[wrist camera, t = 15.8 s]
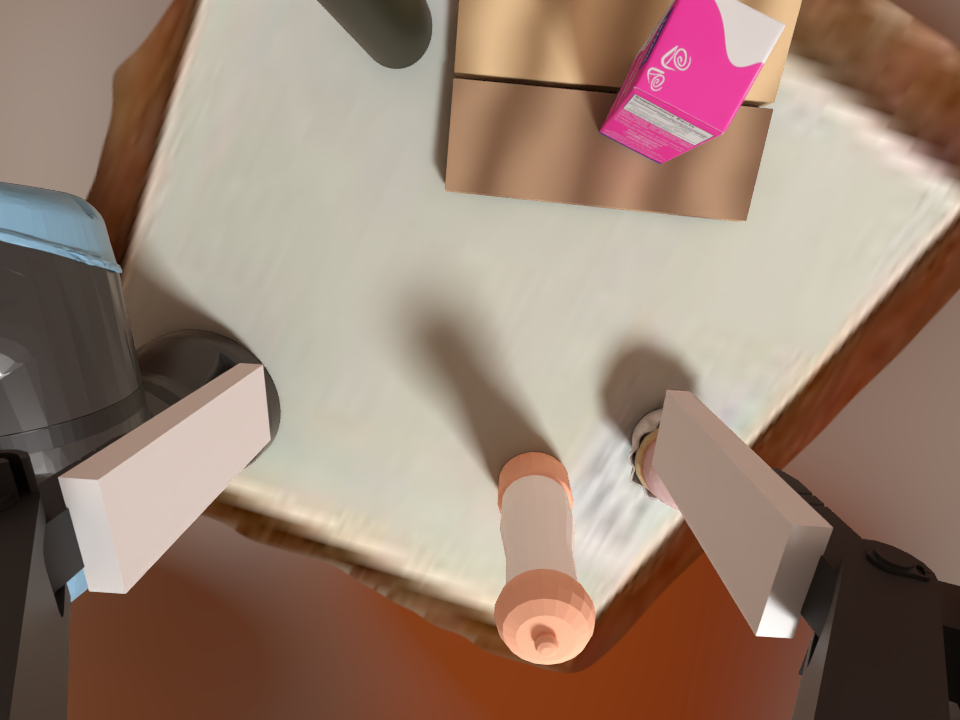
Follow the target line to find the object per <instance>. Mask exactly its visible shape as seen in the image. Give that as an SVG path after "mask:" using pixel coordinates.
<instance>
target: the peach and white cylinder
mask: <svg viewBox="0 0 960 720" xmlns="http://www.w3.org/2000/svg"><path fill="white" fill-rule="evenodd" d="M572 505H573V497H572V492H571V488H570V483H569V479H568V474H567V471H566V470H565V468H564V467H563V465H562V464H561V463H560V462H559V461H558V460H557V459H555V458H554V457H552V456H550V455H547V454H544V453H539V452H528V453H523V454H519V455H517V456H516V457H514V458H512V459H510V460H509V461H508V462H507V463H506V464H505V465H504V466H503V468H502V471H501V473H500V475H499V486H498V506H499V510H500V513H501V523H500V531H501V536H502V541H503V546H504V551H505V556H506V585H505V586H504V588H503V590H502V591H501V593H500V595H499V597H498V599H497V601H496V604H495V612H494V618H495V622H496V626H497V629H498V632H499V635H500V637H501V638H502V640H503V641H504V642H505V643H506V645H507V646H508V647H509V648H510V650H511V651H512V652H513V653H514V654H516V655H517V656H519V657H520V658H522V659H524V660H527V661H530V662H533V663H537V664H547V665H549V664H557V663H562V662H565V661H567V660H570V659H572V658H574V657H575V656H576V655H578V654H579V653H580V652H582V650H583V649H584V647H585V646H586V644H587V643H588V641H589V639H590V638H591V636H592V635H593V630H594V624H595V615H596V614H595V609H594V605H593V602H592V600H591V598H590V597H589V595H588V594H587V593H586V591H585V590H584V588H583V587H582V585H581V584H580V583H579V582H578V579H577V573H576V567H575V561H574V534H575V524H574V520H573V516H572V512H571V511H572Z"/></svg>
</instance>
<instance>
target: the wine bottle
mask: <svg viewBox="0 0 960 720" xmlns="http://www.w3.org/2000/svg"><path fill="white" fill-rule="evenodd" d="M317 1H318V2H319V3H320V4H321V5H322V6H323V7H324V8H325V9H326V10H327V11H328V12H329V13H330V14H331V15H332V16H333V17H334V19H335V20H336V21H337V22H338V23H339V24H340V25H341V26H342V27H343V28H344V29H345V30H346V31H347V32H348V33H349V34H350V35H351V36H352V37H353V38H354V39H355V41H356V42H357V43H358V44H359V45H360V46H361V47H362V48H363V49H364V50H365V51H366V52H367V53H368V54H369V55H370V56H371V57H372V58H373V59H374V60H375V61H376V62H378V63H379V64H381V65H383V66H385V67H388V68H393V69H400V68H405V67H408V66H411V65H412V64H414V63H416V62H417V61H418V60H419V59H420V58H421V57H422V56H423V55H424V53H425V52H426V50H427V48H428V46H429V43H430V40H431V35H432V18H431V13H430V10H429V7H428V5H427V2H426V0H317Z"/></svg>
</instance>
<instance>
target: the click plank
mask: <svg viewBox="0 0 960 720" xmlns="http://www.w3.org/2000/svg"><path fill="white" fill-rule="evenodd" d="M617 95H618V94H612V93H602V92H592V91H581V90H571V89H560V88H550V87H540V86H529V85H519V84H508V83H498V82H488V81H477V80H467V79H457V78H453V91H452V104H451V117H450V130H449V143H448V155H447V168H446V181H445V190H446V191H448V192H458V193H467V194H477V195H487V196H496V197H506V198H516V199H525V200H535V201H545V202H554V203H564V204H574V205H583V206H593V207H603V208H612V209H622V210H632V211H641V212H651V213H661V214H670V215H680V216H690V217H699V218H709V219H719V220H728V221H746V219H747V215H748V211H749V207H750V203H751V199H752V195H753V191H754V186H755V182H756V178H757V174H758V170H759V166H760V162H761V158H762V153H763V149H764V145H765V141H766V137H767V133H768V129H769V124H770V120H771V116H772V112H773V109H768V108H758V107H747V106H740V108H739V110H738V111H737V113H736V115H735V117H734V118H733V120H732V122H731V123H730V125H729V127H728V128H727V130H726V131H725V132H724V133H723V134H722V135H720V136H718V137H716V138H714V139H711V140H709V141H707V142H705V143H703V144H701V145H699V146H697V147H695V148H693V149H691V150H689V151H687V152H685V153H683V154H681V155H679V156H677V157H675V158H673V159H671V160H669V161H667V162H665V163H663V164H659V163H657V162H655V161H653V160H651V159H649V158H647V157H645V156H643V155H641V154H639V153H637V152H635V151H633V150H631V149H629V148H628V147H626V146H624V145H622V144H620V143H618V142H616V141H614V140H612V139H610V138H608V137H607V136H604V135H603V134H601V133H599V130H600V128H601V126H602V124H603V122H604V120H605V119H606V117H607V115H608V113H609V111H610V109H611V107H612V105H613V103H614V101H615V99H616V97H617Z"/></svg>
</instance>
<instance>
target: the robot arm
mask: <svg viewBox="0 0 960 720" xmlns="http://www.w3.org/2000/svg"><path fill="white" fill-rule="evenodd" d="M120 273H122V269H121V267H120V265H118V264H117V263H116V260H115V256H114V253H113V250H112V247H111V243H110V239H109V236H108V232H107V229H106V225H105V222H104V220H103V218H102V216H101V215H100V213H99V212H98V211H97V210H96V209H95V208H94V207H93V206H92V205H91V204H90V203H88V202H87V201H85V200H83V199H82V198H79V197H77V196H74V195H72V194H68V193H64V192H60V191H55V190H49V189H43V188H37V187H31V186H25V185H18V184H12V183H5V182H0V720H67V703H68V700H67V699H68V670H69V668H68V667H69V638H70V604H71V602H72V601H73V600H74V599H75V598H77V597H78V596H79V595H80V594H82V593H83V592H84V591H85V590H86V589H88V588H89V591H93V592H107V593H123V594H126V593H127V592H128V591H129V589H130V588H131V587H132V586H133V585H134V584H135V583H136V582H137V581H138V580H139V579H140V578H141V577H142V576H143V575H144V574H145V573H146V571H147V570H148V569H149V568H150V567H151V566H152V565H153V564H154V563H155V562H156V561H157V560H158V559H159V558H160V557H161V556H162V555H163V553H164V552H165V551H166V550H167V549H168V548H169V547H170V546H171V545H172V544H173V543H174V542H175V541H176V540H177V539H178V537H180V536H181V534H182V533H183V532H184V531H185V530H186V529H187V528H188V527H189V526H190V525H191V524H192V523H193V522H194V520H196V519H197V517H198V516H199V515H200V514H201V513H202V512H203V511H204V510H205V509H206V508H207V507H208V506H209V505H210V504H211V503H212V502H213V501H214V499H215V498H216V497H217V496H218V495H219V494H220V493H221V492H222V491H223V490H224V489H225V488H226V487H227V486H228V485H229V484H230V482H231V481H232V480H233V479H234V478H235V477H236V476H237V475H238V474H239V473H240V472H241V471H242V470H243V469H244V468H246V467H248V466H249V465H250V464H252V463H253V462H254V461H255V460H256V459H257V458H258V457H259V456H260V455H261V454H262V453H263V452H264V451H265V450H266V449H267V448H268V447H269V446H270V445H271V443H272V442H273V440H274V438H275V436H276V434H277V431H278V428H279V423H280V403H279V398H278V394H277V391H276V388H275V386H274V383H273V381H272V379H271V378H270V376H269V374H268V373H267V371H266V370H265V368H264V367H263V364H261V363H260V362H259V361H258V360H257V359H256V358H255V357H254V356H253V355H252V354H251V353H250V352H249V351H247V350H246V349H245V348H243V347H242V346H241V345H239V344H237V343H236V342H234V341H232V340H230V339H228V338H226V337H224V336H221V335H219V334H215V333H212V332H208V331H202V330H182V331H177V332H173V333H170V334H167V335H164V336H162V337H159V338H156V339H154V340H152V341H150V342H148V343H146V344H144V345H143V346H141V347H140V348H138V349H137V350H135V346H134V341H133V337H132V332H131V327H130V322H129V317H128V312H127V307H126V303H125V298H124V293H123V288H122V283H121V278H120ZM652 466H653V467H654V469H655V470H656V472H657V474H658V475H659V477H660V479H661V480H662V482H663V484H664V485H665V487H666V489H667V490H668V492H669V494H670V495H671V497H672V499H673V500H674V502H675V503H676V505H677V507H678V508H679V510H680V512H681V513H682V515H683V517H684V518H685V520H686V522H687V523H688V525H689V527H690V528H691V530H692V532H693V533H694V535H695V536H696V538H697V540H698V541H699V543H700V545H701V546H702V548H703V550H704V551H705V553H706V554H707V556H708V558H709V559H710V561H711V563H712V564H713V566H714V568H715V569H716V571H717V573H718V574H719V576H720V578H721V579H722V581H723V582H724V584H725V586H726V587H727V589H728V591H729V592H730V594H731V596H732V597H733V599H734V601H735V602H736V604H737V606H738V607H739V609H740V610H741V612H742V614H743V615H744V617H745V619H746V621H747V622H748V624H749V625H750V627H751V629H752V630H753V632H754V634H755V635H756V636H767V637H781V638H793V637H794V634H795V631H796V629H797V626H798V623H799V620H800V618H801V615H802V616H803V617H804V619H805V620H806V621H807V623H808V624H809V625H810V627H811V628H812V629H813V631H814V635H813V637H812V640H811V643H810V645H809V648H808V650H807V653H806V656H805V658H804V661H803V663H802V666H801V669H800V671H799V674H800V675H802V678H801V682H800V686H799V690H798V695H797V699H796V703H795V707H794V711H793V716H792V720H960V586H957V585H953V584H949V583H946V582H941V581H938V580H937V578H936V576H935V574H934V573H933V572H932V571H931V570H930V569H929V568H928V567H927V566H926V565H925V564H924V563H923V562H921V561H919V560H918V559H916V558H915V557H913V556H912V555H910V554H908V553H906V552H904V551H902V550H900V549H898V548H896V547H894V546H891V545H888V544H884V543H881V542H878V541H874V540H867V539H862V538H861V537H860V536H859V535H858V534H856V533H855V532H854V531H853V530H852V529H851V528H850V527H848V525H846V523H844V522H843V521H842V520H841V519H840V518H839V517H838V516H837V515H836V514H835V513H833V512H832V511H831V510H830V509H829V508H828V507H824V503H822V502H821V501H820V500H819V499H818V498H817V497H816V496H812V493H811V492H810V491H809V490H808V489H807V488H806V487H805V486H804V485H803V484H801V483H800V482H799V481H798V480H797V479H795V478H793V477H791V476H790V475H788V474H786V473H785V472H783V471H781V470H779V469H778V468H770V467H769V466H768V465H767V464H766V463H765V462H764V461H763V460H762V459H761V458H760V457H759V456H758V455H757V454H756V453H755V452H754V451H752V450H751V449H750V448H749V447H748V446H747V445H746V444H745V443H744V442H743V441H742V440H741V439H740V438H739V437H738V436H737V435H736V434H735V433H734V432H733V431H732V430H730V429H729V428H728V427H727V426H726V425H725V424H724V423H723V422H722V421H721V420H720V419H719V418H718V417H717V416H716V415H715V414H714V413H713V412H712V411H711V410H709V409H708V408H707V407H706V406H705V405H704V404H703V403H702V402H701V401H700V400H699V399H698V398H697V397H696V396H695V395H694V394H693V393H692V392H691V391H678V390H667V391H666V396H665V401H664V406H663V410H662V415H661V420H660V425H659V430H658V435H657V440H656V445H655V450H654V455H653V460H652Z"/></svg>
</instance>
